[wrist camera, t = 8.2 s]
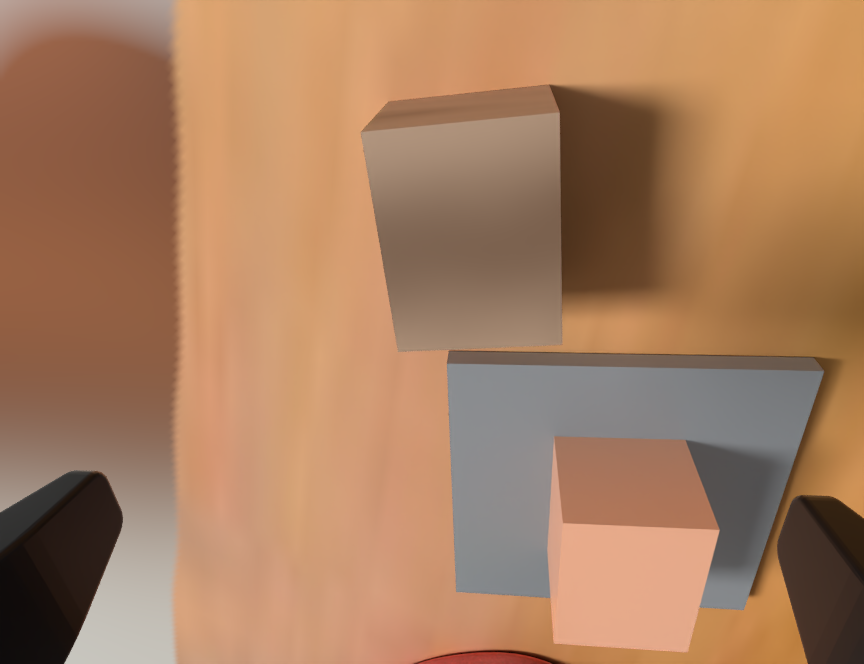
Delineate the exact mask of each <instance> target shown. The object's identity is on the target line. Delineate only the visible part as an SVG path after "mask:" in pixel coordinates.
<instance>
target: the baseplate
mask: <svg viewBox="0 0 864 664" xmlns="http://www.w3.org/2000/svg"><path fill="white" fill-rule="evenodd" d="M823 374H824V370H823V369H822V368H821V366H820V365H819V364H818V362H817V361H816V360H815V359H814V357H759V356H702V355H645V354H588V353H531V352H474V351H449V354H448V360H447V377H448V401H449V426H450V450H451V475H452V499H453V524H454V548H455V572H456V592H466V593H482V594H498V595H514V596H530V597H545V598H551V597H550V582H549V568H548V553H547V547H548V531H549V514H550V497H551V480H552V463H553V446H554V436H559V437H597V438H635V439H673V440H686V443H687V446H688V448H689V451H690V453H691V456H692V459H693V461H694V464H695V466H696V469H697V472H698V474H699V477H700V480H701V482H702V485H703V487H704V490H705V493H706V495H707V498H708V501H709V503H710V506H711V508H712V511H713V514H714V516H715V519H716V522H717V524H718V527H719V529H720V531H719V535H718V538H717V542H716V546H715V550H714V554H713V557H712V561H711V565H710V569H709V573H708V576H707V580H706V584H705V588H704V592H703V595H702V599H701V603H700V607H703V608H719V609H734V610H744V608H745V605H746V602H747V599H748V596H749V593H750V590H751V587H752V584H753V581H754V578H755V575H756V572H757V569H758V566H759V563H760V560H761V557H762V554H763V552H764V549H765V546H766V543H767V540H768V537H769V534H770V531H771V528H772V525H773V522H774V519H775V516H776V513H777V510H778V507H779V504H780V501H781V498H782V495H783V492H784V489H785V486H786V483H787V480H788V477H789V475H790V472H791V469H792V466H793V463H794V460H795V457H796V454H797V451H798V448H799V445H800V442H801V439H802V436H803V433H804V430H805V427H806V424H807V421H808V418H809V415H810V412H811V409H812V406H813V403H814V400H815V398H816V395H817V392H818V389H819V386H820V383H821V380H822V377H823Z"/></svg>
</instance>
